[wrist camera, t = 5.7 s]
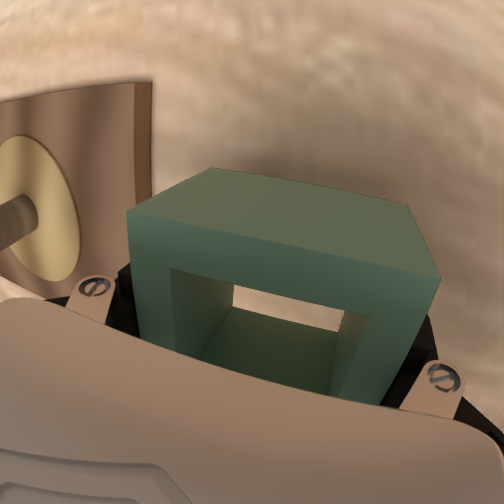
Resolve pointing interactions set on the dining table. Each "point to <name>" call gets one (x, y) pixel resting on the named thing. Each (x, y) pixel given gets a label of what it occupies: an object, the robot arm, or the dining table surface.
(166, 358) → the robot arm
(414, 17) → the dining table surface
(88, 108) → the post board
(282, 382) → the collar
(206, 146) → the dining table surface
